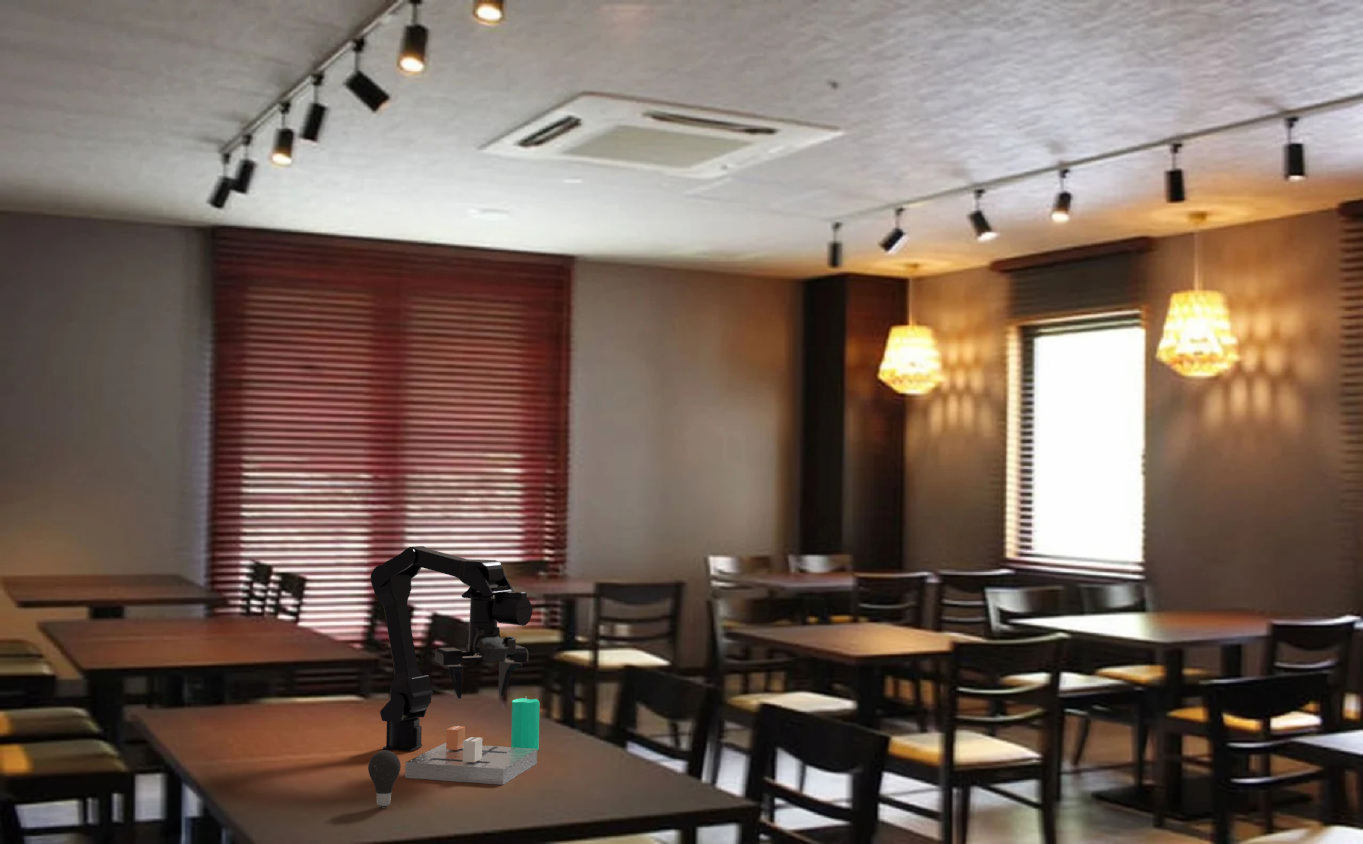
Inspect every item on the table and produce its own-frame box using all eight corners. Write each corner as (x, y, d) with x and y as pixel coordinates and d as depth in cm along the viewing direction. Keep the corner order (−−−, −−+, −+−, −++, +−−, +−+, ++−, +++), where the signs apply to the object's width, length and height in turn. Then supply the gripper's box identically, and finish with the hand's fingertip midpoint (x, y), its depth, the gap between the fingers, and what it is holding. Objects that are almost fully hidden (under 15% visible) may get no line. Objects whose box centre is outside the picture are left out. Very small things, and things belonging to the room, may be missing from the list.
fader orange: (445, 763, 284) (446, 729, 284) (453, 759, 288) (454, 725, 288) (457, 764, 284) (457, 729, 284) (464, 760, 288) (465, 726, 288)
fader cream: (462, 776, 273) (463, 740, 273) (470, 771, 277) (470, 736, 277) (474, 776, 272) (475, 741, 272) (481, 772, 276) (482, 737, 276)
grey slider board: (405, 778, 273) (405, 761, 273) (444, 757, 292) (445, 742, 292) (503, 784, 268) (503, 768, 268) (536, 763, 288) (536, 748, 288)
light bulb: (369, 803, 251) (370, 747, 252) (401, 803, 252) (402, 747, 252) (365, 811, 246) (366, 753, 246) (397, 811, 246) (399, 754, 247)
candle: (534, 753, 298) (535, 696, 299) (506, 751, 300) (508, 694, 300) (542, 747, 304) (543, 691, 305) (515, 746, 306) (517, 690, 306)
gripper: (455, 627, 280) (451, 706, 280) (540, 625, 289) (537, 701, 289) (435, 620, 290) (432, 697, 289) (519, 618, 299) (516, 692, 299)
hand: (480, 697), depth 291 cm, fingers open, 9 cm apart
